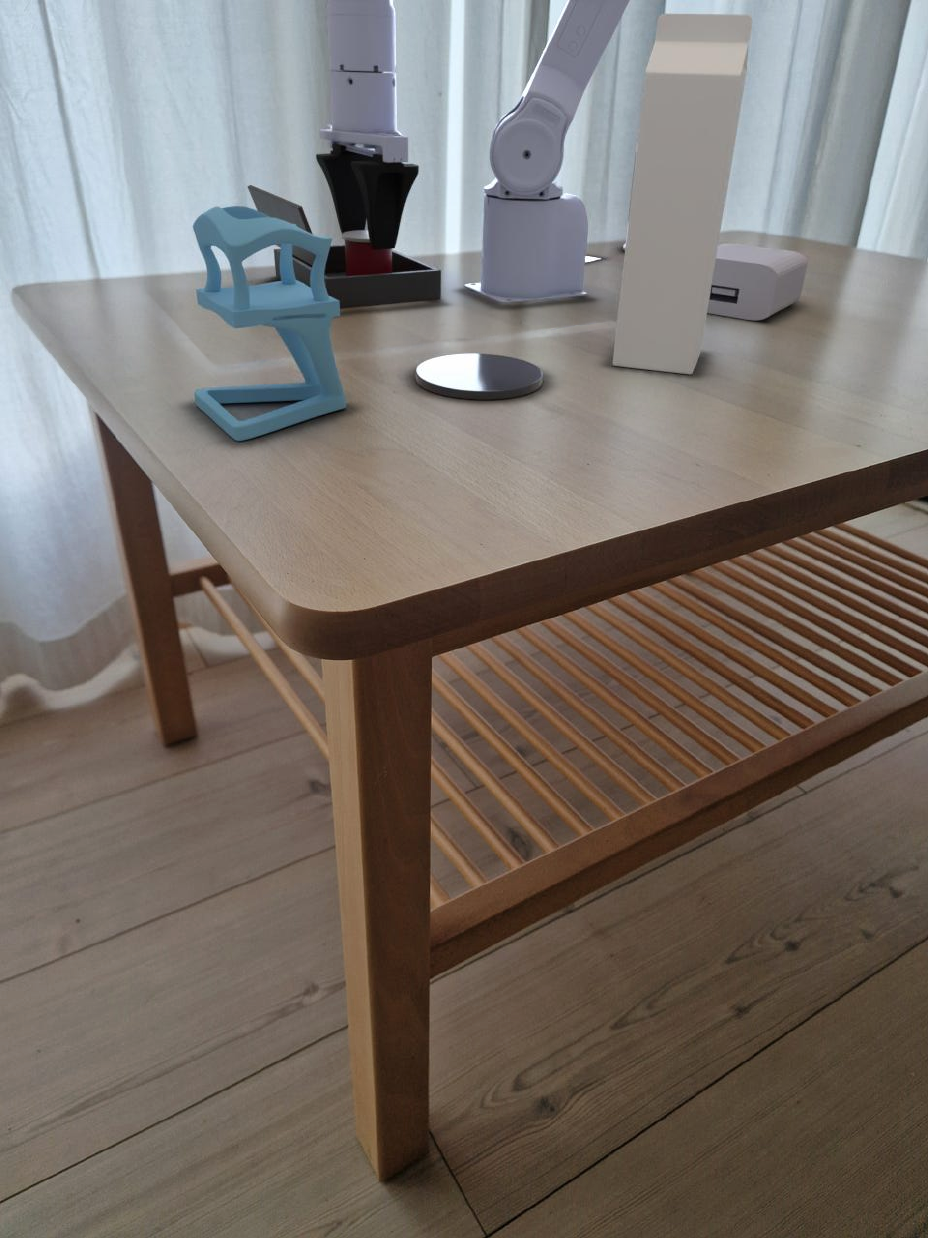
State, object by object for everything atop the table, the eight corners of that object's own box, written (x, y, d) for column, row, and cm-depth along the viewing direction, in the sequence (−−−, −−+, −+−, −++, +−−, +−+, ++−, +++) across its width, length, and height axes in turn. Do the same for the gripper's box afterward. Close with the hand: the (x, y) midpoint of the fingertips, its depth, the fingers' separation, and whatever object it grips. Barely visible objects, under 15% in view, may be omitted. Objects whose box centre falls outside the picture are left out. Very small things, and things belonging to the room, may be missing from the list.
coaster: (503, 355, 68) (503, 348, 68) (566, 390, 62) (567, 381, 61) (395, 369, 65) (395, 360, 64) (450, 406, 58) (450, 397, 58)
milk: (624, 346, 72) (663, 15, 60) (701, 354, 70) (756, 16, 58) (611, 366, 67) (650, 10, 55) (693, 375, 65) (751, 11, 53)
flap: (326, 269, 76) (322, 271, 76) (274, 240, 87) (271, 242, 87) (301, 205, 72) (297, 207, 72) (250, 184, 84) (247, 186, 84)
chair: (364, 419, 56) (356, 209, 49) (235, 442, 52) (209, 218, 45) (313, 385, 61) (300, 192, 55) (193, 403, 57) (165, 199, 51)
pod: (383, 278, 89) (382, 228, 86) (403, 288, 85) (402, 236, 83) (336, 282, 87) (334, 231, 84) (355, 292, 83) (353, 239, 81)
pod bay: (327, 314, 78) (325, 278, 76) (276, 280, 89) (273, 248, 87) (440, 304, 82) (441, 270, 81) (378, 273, 93) (377, 242, 92)
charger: (817, 294, 90) (768, 323, 79) (729, 281, 94) (671, 307, 83) (829, 244, 87) (779, 266, 76) (738, 233, 91) (679, 253, 81)
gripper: (291, 68, 80) (301, 230, 88) (349, 72, 70) (356, 257, 77) (364, 70, 83) (368, 227, 90) (431, 74, 72) (430, 252, 80)
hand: (367, 241), depth 84 cm, fingers open, 7 cm apart
